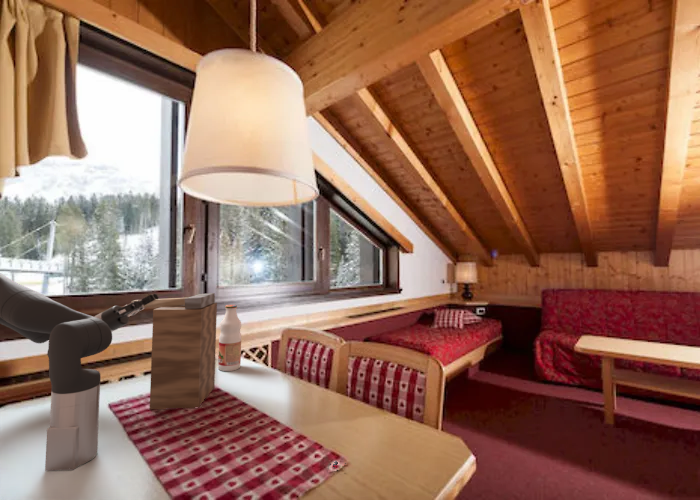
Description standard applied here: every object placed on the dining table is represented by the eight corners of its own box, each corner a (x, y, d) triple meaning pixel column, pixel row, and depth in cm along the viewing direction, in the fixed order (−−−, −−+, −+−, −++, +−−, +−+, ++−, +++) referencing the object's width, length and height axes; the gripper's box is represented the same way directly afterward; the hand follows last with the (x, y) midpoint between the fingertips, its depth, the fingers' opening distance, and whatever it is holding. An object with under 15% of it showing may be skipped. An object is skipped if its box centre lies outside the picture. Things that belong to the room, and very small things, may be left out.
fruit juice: (235, 372, 146) (237, 307, 147) (214, 371, 147) (216, 306, 148) (243, 365, 155) (245, 304, 156) (224, 364, 156) (225, 303, 157)
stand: (198, 408, 110) (201, 309, 111) (149, 409, 109) (153, 309, 110) (214, 387, 128) (216, 302, 129) (172, 388, 127) (175, 302, 128)
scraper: (200, 308, 112) (200, 297, 112) (120, 312, 110) (120, 301, 110) (214, 302, 128) (214, 293, 128) (145, 305, 126) (144, 296, 126)
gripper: (90, 314, 110) (140, 288, 111) (115, 308, 123) (159, 285, 125) (101, 335, 110) (151, 308, 112) (125, 326, 124) (169, 303, 125)
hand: (155, 296), depth 118 cm, fingers closed on scraper, 2 cm apart
